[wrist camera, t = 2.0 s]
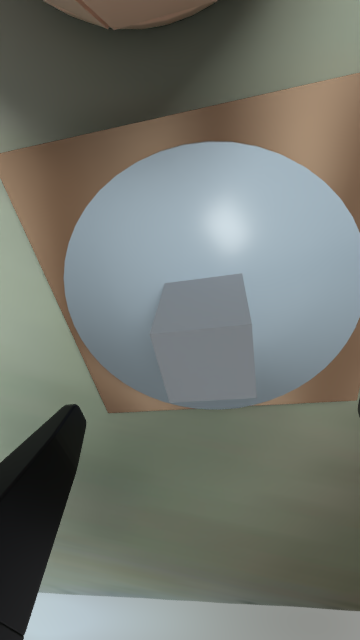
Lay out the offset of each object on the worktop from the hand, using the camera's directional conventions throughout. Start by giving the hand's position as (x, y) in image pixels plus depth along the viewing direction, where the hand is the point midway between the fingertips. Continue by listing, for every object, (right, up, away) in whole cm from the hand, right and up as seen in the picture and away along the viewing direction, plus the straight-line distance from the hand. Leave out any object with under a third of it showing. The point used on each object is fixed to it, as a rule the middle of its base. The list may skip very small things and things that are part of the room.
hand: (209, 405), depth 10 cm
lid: (+1, +4, +6) cm, 7 cm away
